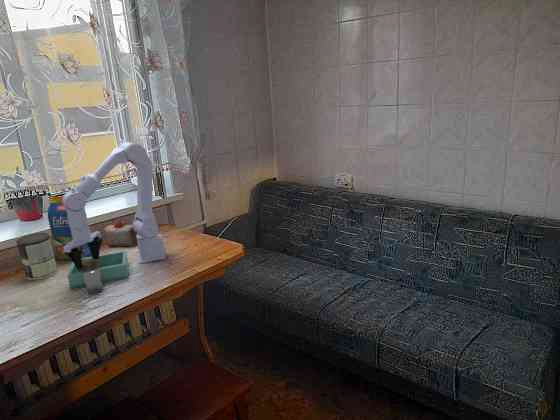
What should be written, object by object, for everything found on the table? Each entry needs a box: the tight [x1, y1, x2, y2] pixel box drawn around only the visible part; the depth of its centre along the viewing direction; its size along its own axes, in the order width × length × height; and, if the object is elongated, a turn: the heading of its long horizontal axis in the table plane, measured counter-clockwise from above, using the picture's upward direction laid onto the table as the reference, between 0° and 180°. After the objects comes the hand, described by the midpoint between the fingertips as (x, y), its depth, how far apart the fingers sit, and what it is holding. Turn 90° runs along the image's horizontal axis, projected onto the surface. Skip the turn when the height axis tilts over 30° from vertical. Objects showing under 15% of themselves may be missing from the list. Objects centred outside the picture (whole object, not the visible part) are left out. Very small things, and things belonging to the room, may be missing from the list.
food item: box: [103, 220, 138, 247], centre depth 175 cm, size 14×8×10 cm, turn 76°
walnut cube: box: [78, 258, 100, 272], centre depth 145 cm, size 5×5×5 cm
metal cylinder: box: [83, 268, 105, 295], centre depth 135 cm, size 5×5×7 cm
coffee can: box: [16, 232, 58, 281], centre depth 150 cm, size 10×10×14 cm
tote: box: [67, 250, 129, 290], centre depth 147 cm, size 18×14×5 cm
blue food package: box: [47, 195, 92, 261], centre depth 162 cm, size 6×12×25 cm, turn 78°
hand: (88, 263), depth 145 cm, fingers open, 7 cm apart
